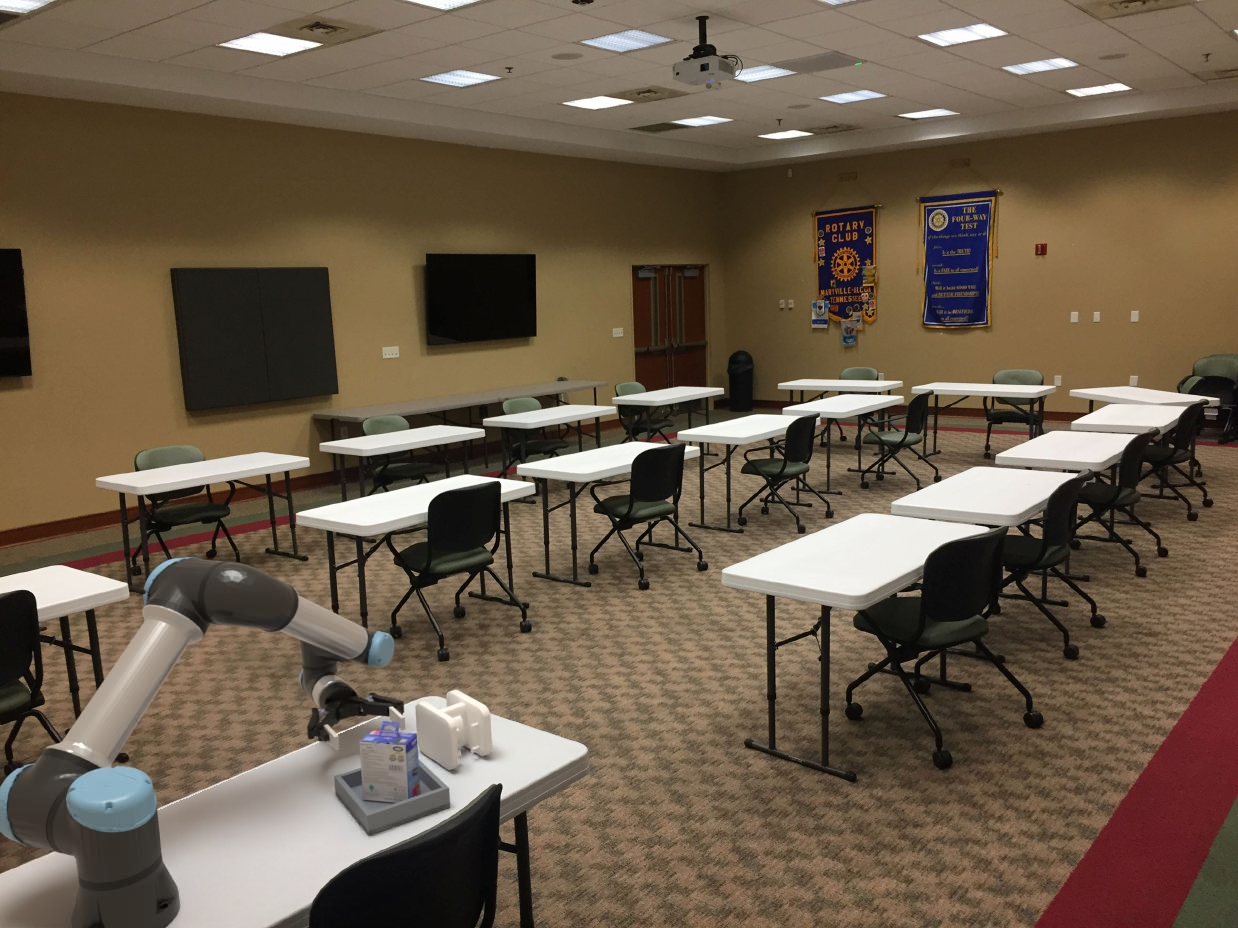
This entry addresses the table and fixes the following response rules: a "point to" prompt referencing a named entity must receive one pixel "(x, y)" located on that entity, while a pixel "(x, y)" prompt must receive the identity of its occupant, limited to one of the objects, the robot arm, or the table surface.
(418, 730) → the cable organizer
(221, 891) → the table surface
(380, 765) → the ink cartridge box
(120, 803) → the robot arm
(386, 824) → the tray
